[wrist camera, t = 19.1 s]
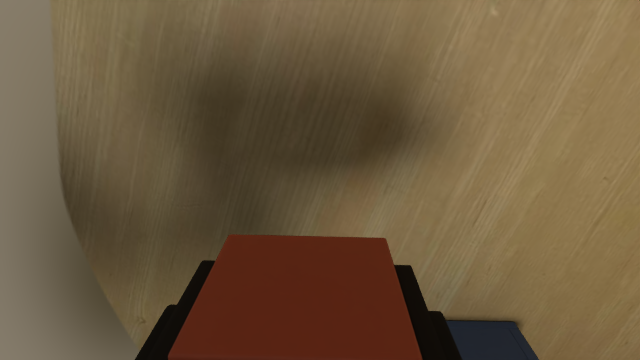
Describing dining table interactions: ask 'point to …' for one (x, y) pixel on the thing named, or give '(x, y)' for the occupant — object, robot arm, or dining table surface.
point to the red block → (299, 303)
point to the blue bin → (490, 341)
